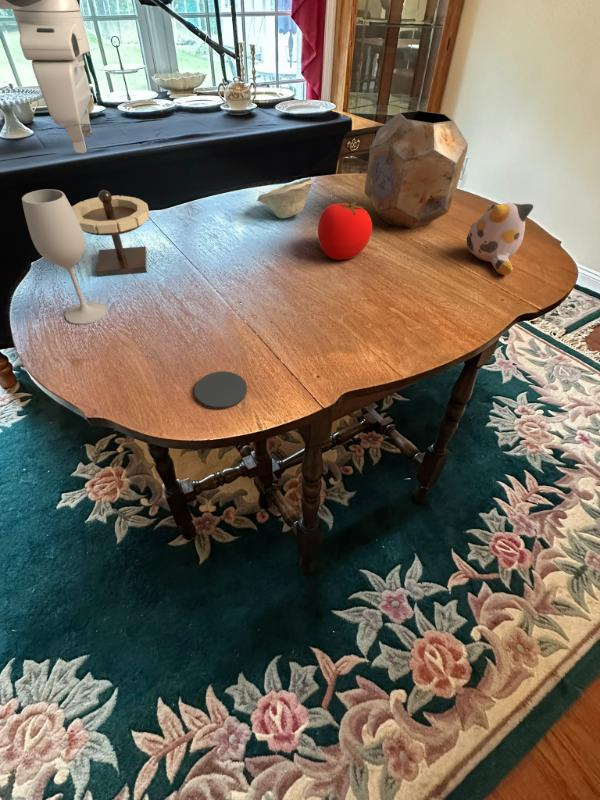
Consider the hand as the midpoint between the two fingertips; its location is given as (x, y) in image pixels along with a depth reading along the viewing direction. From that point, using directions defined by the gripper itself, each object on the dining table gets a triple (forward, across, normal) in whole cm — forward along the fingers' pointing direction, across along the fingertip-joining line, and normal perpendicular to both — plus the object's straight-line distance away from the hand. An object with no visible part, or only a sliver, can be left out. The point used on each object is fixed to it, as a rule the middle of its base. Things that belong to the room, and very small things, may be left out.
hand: (84, 143), depth 73 cm
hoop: (+15, -6, 0) cm, 16 cm away
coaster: (+25, +38, +16) cm, 49 cm away
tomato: (+25, -2, +49) cm, 55 cm away
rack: (+25, -6, 0) cm, 26 cm away
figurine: (+25, +9, +83) cm, 87 cm away
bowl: (+25, -26, +41) cm, 55 cm away
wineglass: (+25, +12, -6) cm, 29 cm away
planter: (+25, -19, +73) cm, 80 cm away
